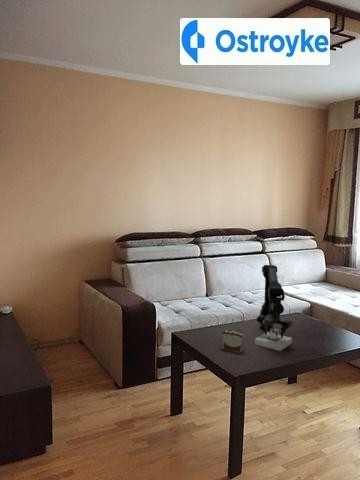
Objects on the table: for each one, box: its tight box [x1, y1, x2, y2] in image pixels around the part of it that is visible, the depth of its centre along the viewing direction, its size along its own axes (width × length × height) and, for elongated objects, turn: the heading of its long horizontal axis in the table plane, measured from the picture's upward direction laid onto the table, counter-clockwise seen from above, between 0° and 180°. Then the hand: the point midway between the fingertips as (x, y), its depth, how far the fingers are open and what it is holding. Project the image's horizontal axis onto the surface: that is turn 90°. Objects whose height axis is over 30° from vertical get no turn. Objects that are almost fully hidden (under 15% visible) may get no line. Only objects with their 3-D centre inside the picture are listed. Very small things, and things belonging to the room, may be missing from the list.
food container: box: [221, 328, 245, 354], centre depth 209 cm, size 12×6×10 cm, turn 59°
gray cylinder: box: [268, 327, 280, 341], centre depth 218 cm, size 5×5×8 cm
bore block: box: [254, 331, 293, 352], centre depth 218 cm, size 15×15×3 cm
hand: (273, 336), depth 218 cm, fingers open, 9 cm apart
